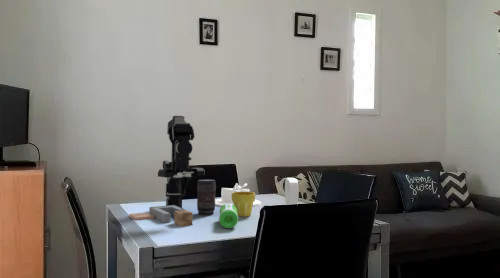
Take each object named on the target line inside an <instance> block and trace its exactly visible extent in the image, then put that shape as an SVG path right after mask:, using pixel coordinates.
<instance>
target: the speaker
mask: <svg viewBox="0 0 500 278" xmlns="http://www.w3.org/2000/svg"><path fill="white" fill-rule="evenodd" d="M218 219H219V224H220V225H221V226H222V227H223V228H226V229H232V228H234V227H235V226H237V224H238V221H239V216H238V215H237V208H236V207H235V206H234V205H233V204H230V203H227V204H224V205H223V206H222V207H220V208H219V218H218Z"/></svg>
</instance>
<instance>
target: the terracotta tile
mask: <svg viewBox="0 0 500 278" xmlns="http://www.w3.org/2000/svg"><path fill="white" fill-rule="evenodd" d="M128 217H130V218H131V219H133V220H135V221H137V220H139V221H140V220H152V219H155V218H154V215H152V214H150V213H149V211H148V212H147V211H146V212H135V213H129V214H128Z"/></svg>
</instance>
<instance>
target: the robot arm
mask: <svg viewBox="0 0 500 278" xmlns="http://www.w3.org/2000/svg"><path fill="white" fill-rule="evenodd" d="M194 129H195V128H194V127H193V125H191V123H190V122H186V121H185V116H183V115H174V116H172V118H171V120H170V121H168V122H167V126H166V131H167V132H166V134H167V135H168V139H169V142H170V143H171V161H169V160H163V161H162V168H160V169H159V170H158V171H157V177H160V178H166V179H167V182H166V183H165V188H164V189H165V190H164V193H165V197H166V199H165V206H170V205H175V206H177V207H180V208H182V209H184V207H183V197H185V196H186V189H187V187H188V185H189V183H190V182H191V180H192V179H193V178H194V177H193V176H192V175H197V176H200V177H201V176H205V173H206V171H205V169H204V168H202V167H190V161H192V157H190V155H191V153H192V151H193V145H192V143H191V142H190V141H194V139H195V130H194Z"/></svg>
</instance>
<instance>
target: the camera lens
mask: <svg viewBox="0 0 500 278" xmlns="http://www.w3.org/2000/svg"><path fill="white" fill-rule="evenodd" d="M196 187H197V189H196V190H197V191H196V192H197V199H196V200H197V201H196V208H197V212H198V215H199V216H212V215H214V213H215V208H216V206H215V200H216V189H217V185H216V180H215V179H198V180H197V185H196Z"/></svg>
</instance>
